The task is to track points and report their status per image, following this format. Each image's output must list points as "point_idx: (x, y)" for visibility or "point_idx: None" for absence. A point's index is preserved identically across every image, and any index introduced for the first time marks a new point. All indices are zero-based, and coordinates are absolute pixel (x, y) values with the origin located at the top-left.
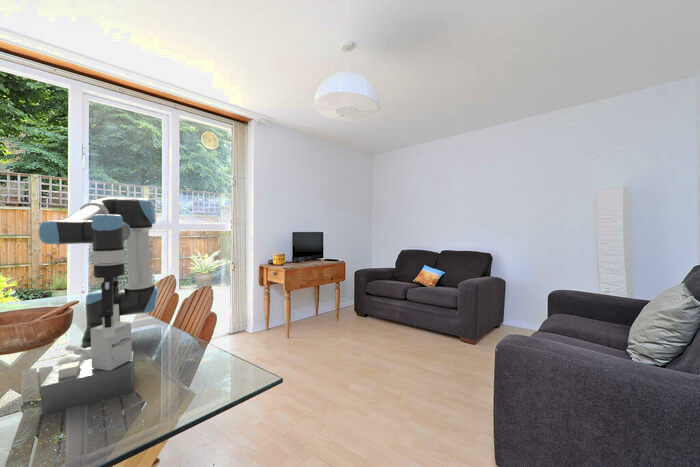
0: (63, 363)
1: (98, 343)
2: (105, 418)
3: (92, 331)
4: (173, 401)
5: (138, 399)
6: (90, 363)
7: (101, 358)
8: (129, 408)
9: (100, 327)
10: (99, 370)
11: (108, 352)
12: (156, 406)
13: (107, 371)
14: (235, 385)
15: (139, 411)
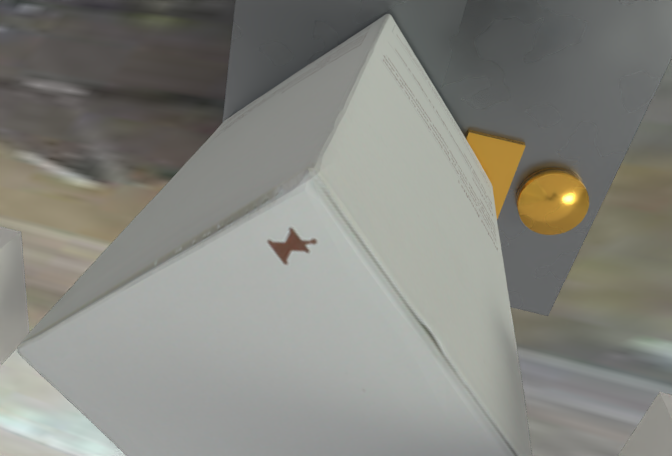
0: None
1: (240, 151)
2: (32, 6)
3: (275, 172)
4: (24, 265)
5: (141, 164)
6: (550, 15)
7: (258, 107)
8: (71, 114)
9: (245, 298)
10: (301, 58)
11: (175, 179)
12: (19, 205)
13: (230, 103)
14: (23, 446)
15: (13, 142)
